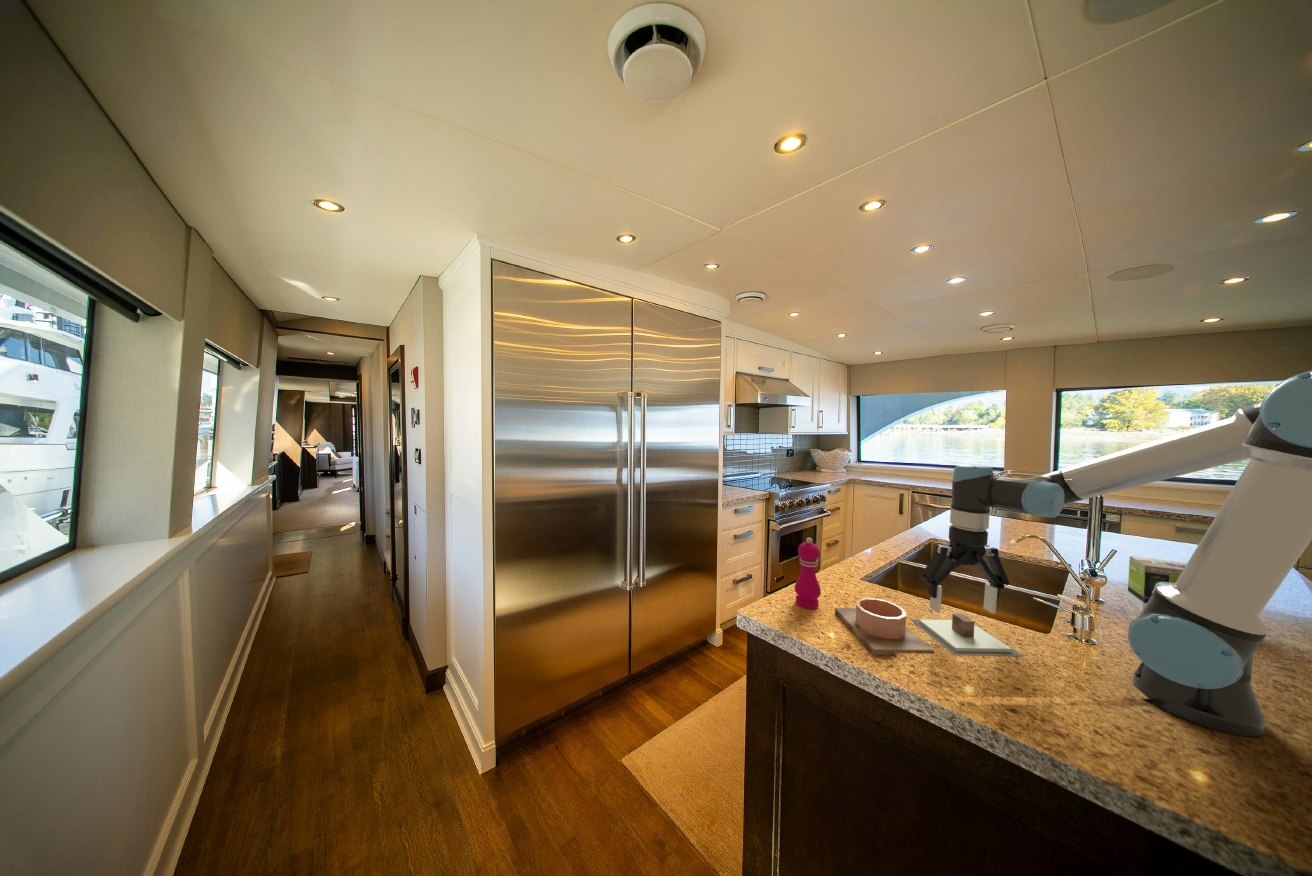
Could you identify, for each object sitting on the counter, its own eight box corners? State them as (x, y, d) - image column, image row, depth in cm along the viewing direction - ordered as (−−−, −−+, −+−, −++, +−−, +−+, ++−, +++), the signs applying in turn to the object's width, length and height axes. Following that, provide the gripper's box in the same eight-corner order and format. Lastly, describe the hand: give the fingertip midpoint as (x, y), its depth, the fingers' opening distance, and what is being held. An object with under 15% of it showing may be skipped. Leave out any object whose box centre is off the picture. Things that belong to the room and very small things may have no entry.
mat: (1023, 660, 91) (1023, 655, 91) (954, 659, 91) (954, 654, 91) (968, 623, 107) (969, 620, 107) (909, 622, 107) (909, 619, 107)
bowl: (914, 638, 96) (915, 619, 96) (869, 638, 96) (870, 618, 96) (888, 616, 107) (889, 598, 107) (848, 615, 107) (848, 597, 107)
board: (933, 656, 92) (933, 649, 92) (873, 655, 92) (873, 648, 92) (884, 613, 112) (884, 608, 112) (834, 612, 112) (835, 607, 112)
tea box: (1202, 615, 114) (1207, 564, 113) (1226, 630, 106) (1231, 576, 105) (1125, 601, 122) (1129, 554, 121) (1141, 614, 114) (1145, 564, 113)
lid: (1011, 651, 92) (1012, 632, 92) (955, 651, 92) (957, 631, 92) (967, 623, 105) (968, 605, 105) (919, 622, 105) (920, 604, 105)
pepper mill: (822, 611, 113) (825, 542, 112) (795, 608, 114) (798, 540, 113) (817, 600, 120) (819, 535, 119) (792, 597, 121) (794, 533, 120)
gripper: (1005, 523, 101) (999, 604, 103) (908, 521, 101) (902, 601, 103) (1033, 532, 94) (1026, 619, 95) (928, 530, 94) (922, 616, 95)
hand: (962, 610), depth 99 cm, fingers open, 13 cm apart
